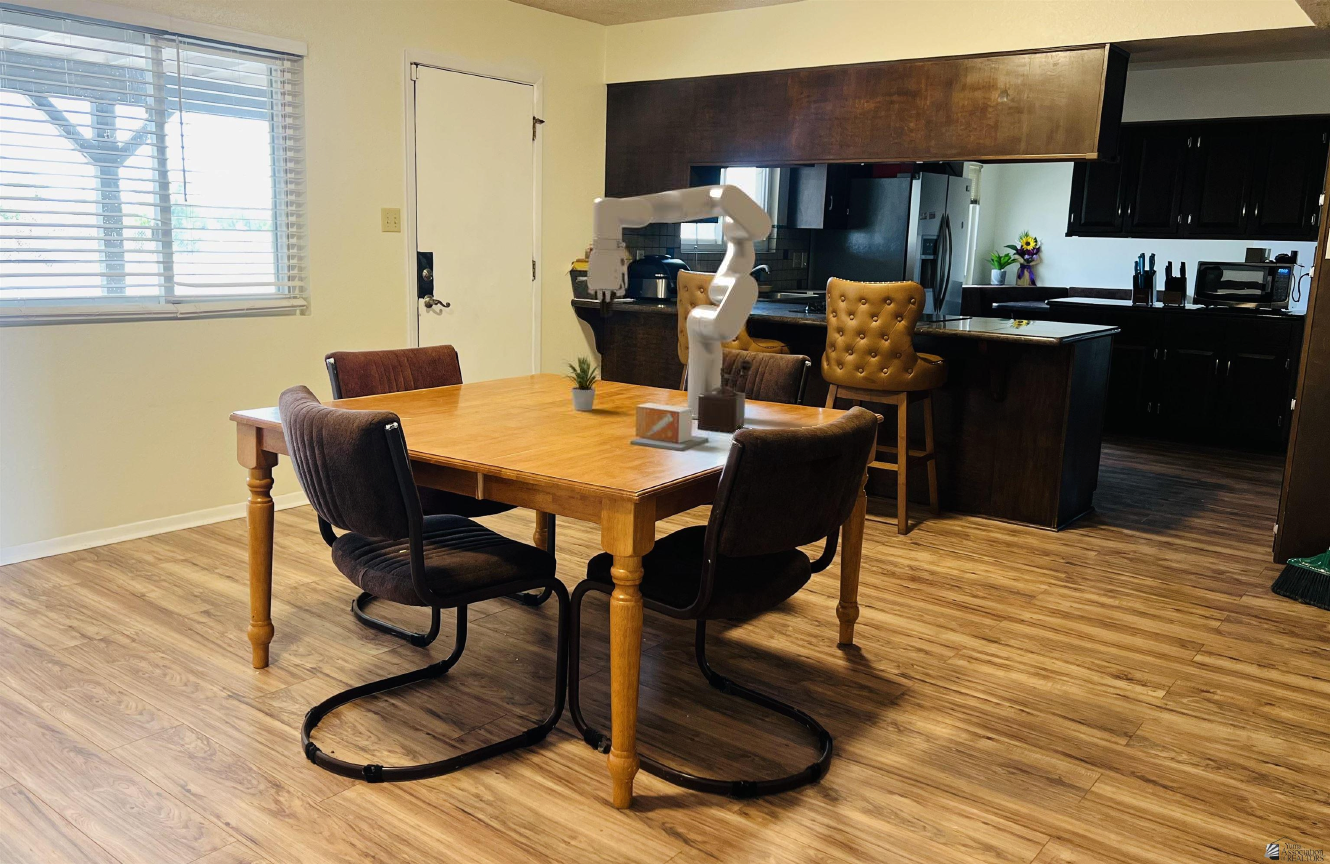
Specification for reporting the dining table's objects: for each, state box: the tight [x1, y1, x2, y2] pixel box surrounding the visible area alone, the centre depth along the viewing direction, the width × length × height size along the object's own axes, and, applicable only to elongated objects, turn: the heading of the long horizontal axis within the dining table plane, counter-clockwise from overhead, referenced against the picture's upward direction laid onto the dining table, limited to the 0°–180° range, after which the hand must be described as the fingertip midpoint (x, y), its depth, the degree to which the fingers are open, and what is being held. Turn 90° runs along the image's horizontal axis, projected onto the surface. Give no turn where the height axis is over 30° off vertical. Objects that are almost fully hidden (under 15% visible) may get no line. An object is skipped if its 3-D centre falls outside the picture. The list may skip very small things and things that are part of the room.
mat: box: [629, 435, 709, 452], centre depth 255 cm, size 15×14×1 cm
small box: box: [635, 402, 693, 443], centre depth 255 cm, size 8×6×13 cm
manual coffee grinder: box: [697, 359, 754, 434], centre depth 276 cm, size 16×11×18 cm
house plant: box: [561, 354, 603, 412], centre depth 298 cm, size 14×14×16 cm
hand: (606, 316), depth 271 cm, fingers closed
